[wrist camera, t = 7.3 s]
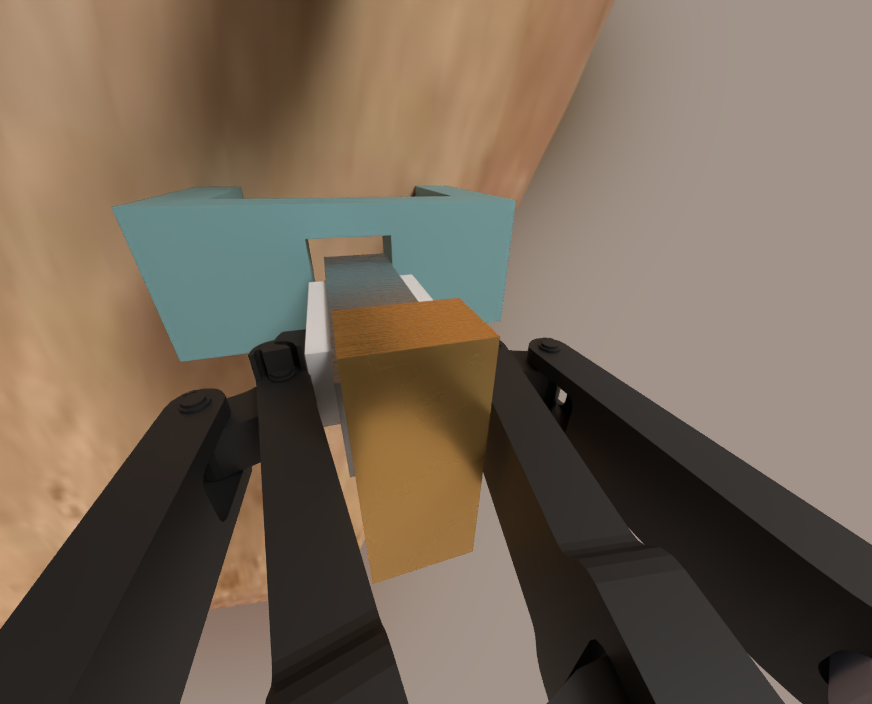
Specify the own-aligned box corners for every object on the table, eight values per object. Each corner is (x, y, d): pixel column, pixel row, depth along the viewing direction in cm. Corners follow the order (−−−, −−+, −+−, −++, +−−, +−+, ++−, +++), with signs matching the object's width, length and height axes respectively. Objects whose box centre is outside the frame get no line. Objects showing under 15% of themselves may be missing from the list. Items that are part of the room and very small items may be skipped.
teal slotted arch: (228, 289, 29) (180, 361, 18) (195, 186, 25) (111, 207, 14) (444, 272, 34) (500, 321, 24) (447, 185, 30) (515, 200, 20)
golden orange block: (336, 340, 20) (364, 586, 8) (318, 221, 17) (322, 361, 5) (389, 333, 21) (479, 548, 9) (381, 219, 17) (510, 335, 6)
